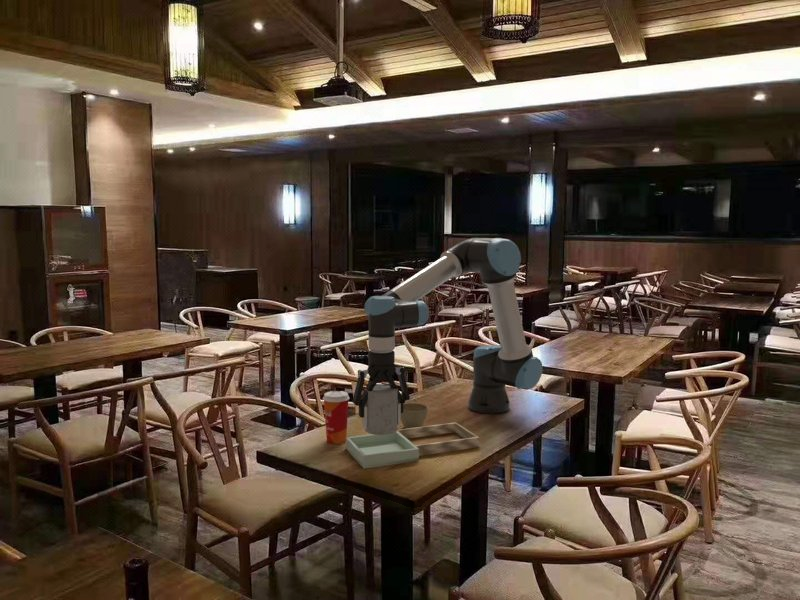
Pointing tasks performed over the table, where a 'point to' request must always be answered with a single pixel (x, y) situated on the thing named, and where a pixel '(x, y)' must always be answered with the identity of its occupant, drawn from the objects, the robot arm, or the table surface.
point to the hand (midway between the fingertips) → (381, 425)
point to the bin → (381, 450)
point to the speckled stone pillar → (382, 410)
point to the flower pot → (413, 415)
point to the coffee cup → (336, 416)
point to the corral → (445, 446)
